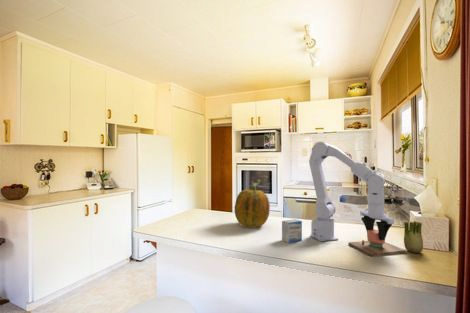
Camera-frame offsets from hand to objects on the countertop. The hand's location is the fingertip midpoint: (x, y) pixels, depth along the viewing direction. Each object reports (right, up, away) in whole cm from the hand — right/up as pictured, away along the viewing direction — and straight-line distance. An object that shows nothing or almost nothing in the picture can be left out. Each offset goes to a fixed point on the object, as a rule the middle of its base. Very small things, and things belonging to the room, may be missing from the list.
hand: (375, 237), depth 92 cm
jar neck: (0, -5, 0) cm, 5 cm away
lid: (0, -2, 0) cm, 2 cm away
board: (0, -5, 0) cm, 5 cm away
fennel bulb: (+13, -5, -3) cm, 14 cm away
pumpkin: (-48, -5, +30) cm, 57 cm away
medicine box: (-32, -5, +9) cm, 33 cm away
